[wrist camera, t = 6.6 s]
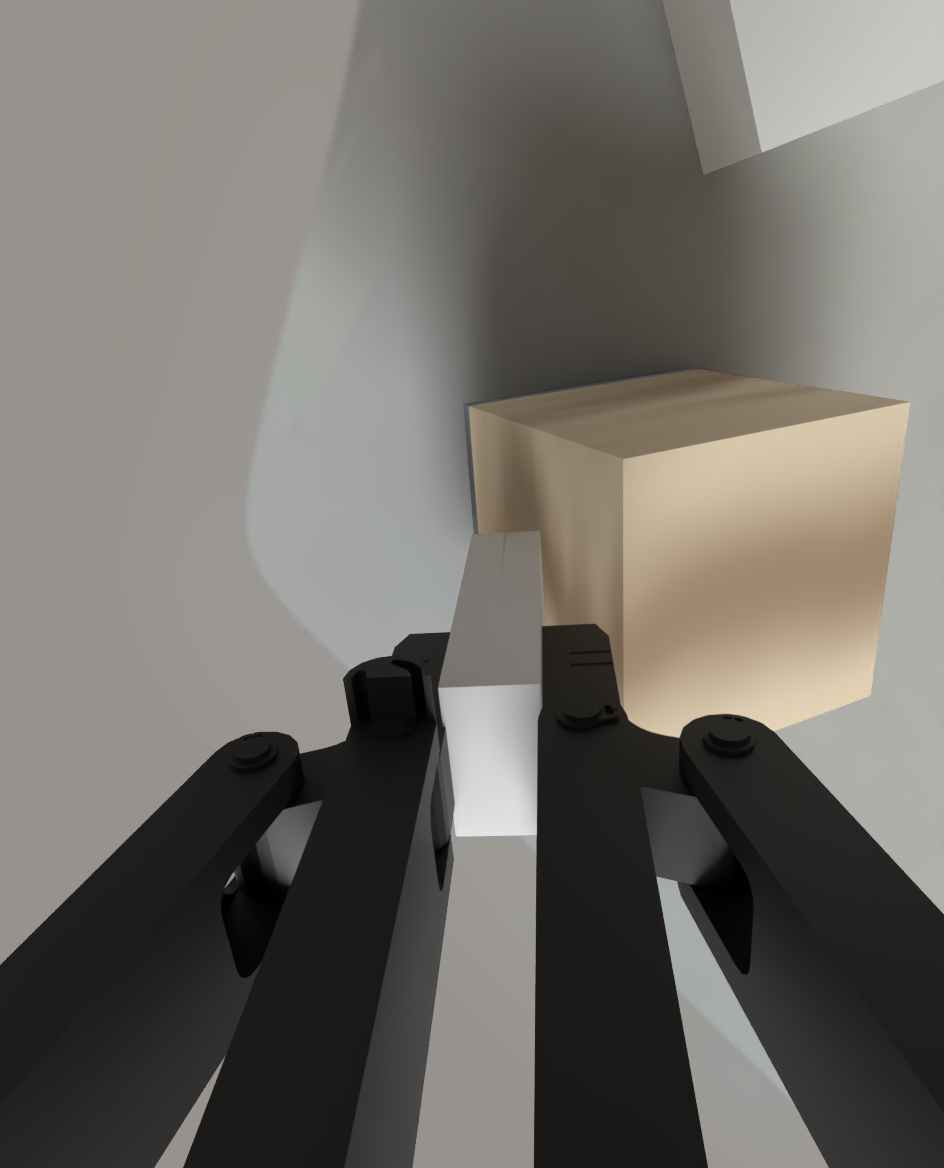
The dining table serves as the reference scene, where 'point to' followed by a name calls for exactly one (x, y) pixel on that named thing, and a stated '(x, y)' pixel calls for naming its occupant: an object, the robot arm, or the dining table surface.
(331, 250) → the dining table surface
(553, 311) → the dining table surface
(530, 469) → the beech block
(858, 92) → the grey block
